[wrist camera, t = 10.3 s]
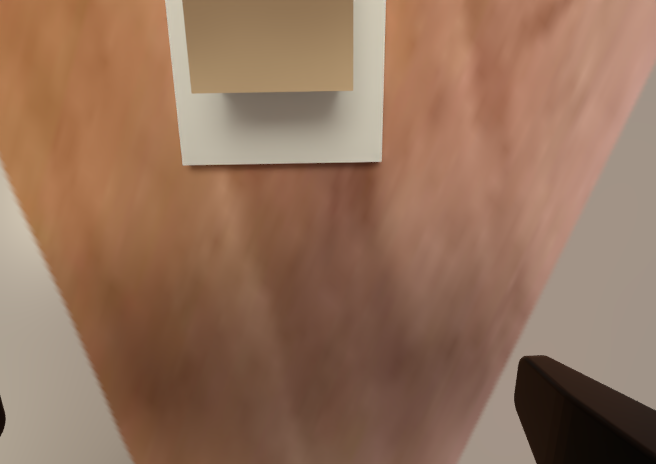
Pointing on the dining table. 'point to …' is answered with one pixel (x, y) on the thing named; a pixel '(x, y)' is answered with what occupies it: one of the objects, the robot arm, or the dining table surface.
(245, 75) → the block
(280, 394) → the dining table surface
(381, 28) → the board
